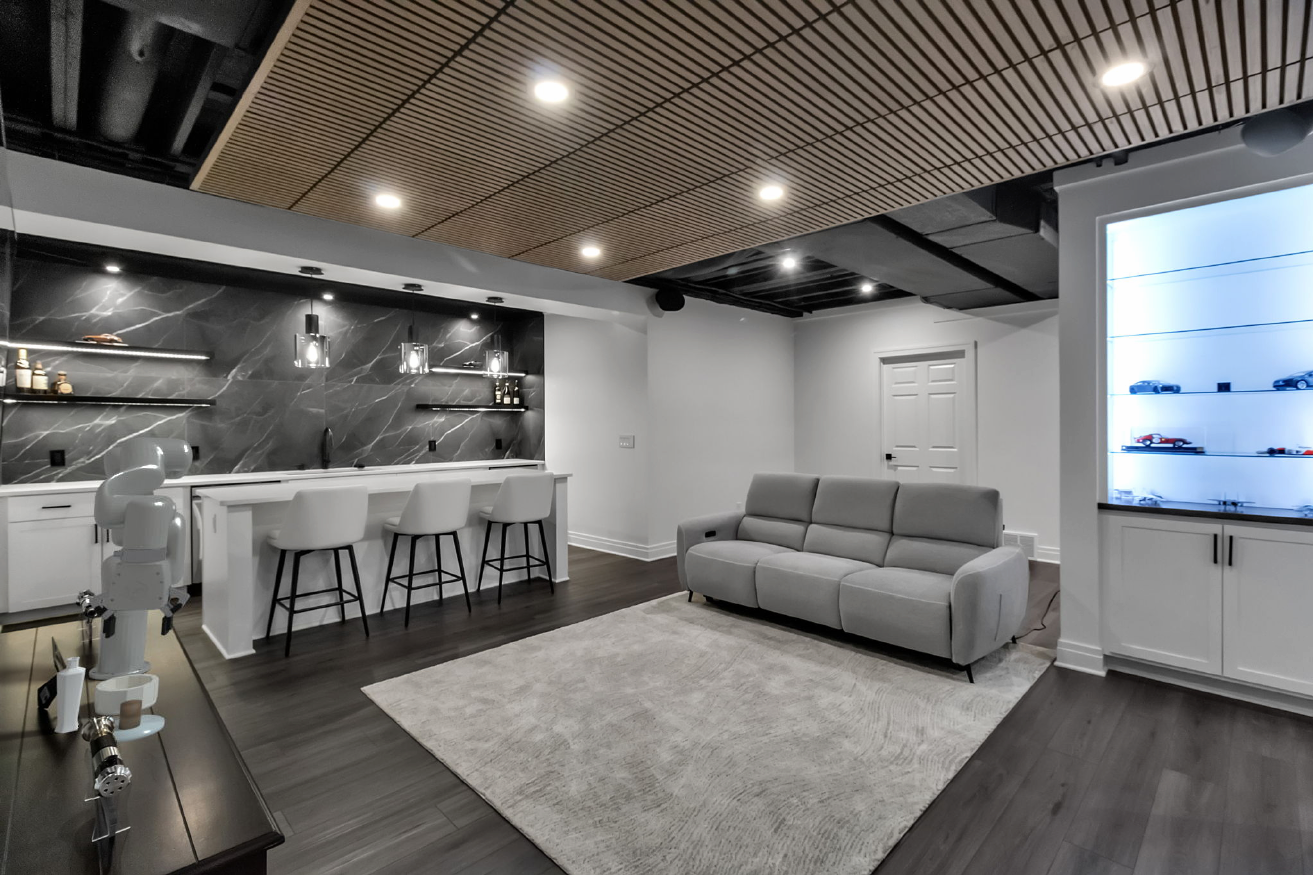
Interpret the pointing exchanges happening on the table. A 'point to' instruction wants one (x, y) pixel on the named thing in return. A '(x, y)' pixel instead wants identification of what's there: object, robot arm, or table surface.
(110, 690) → the bowl
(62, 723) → the perfume bottle
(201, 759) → the table surface
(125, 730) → the lid
